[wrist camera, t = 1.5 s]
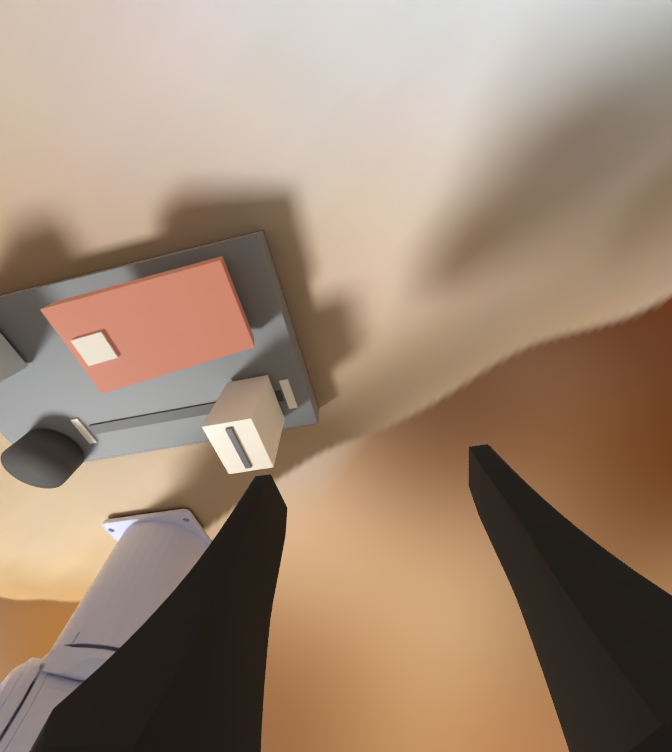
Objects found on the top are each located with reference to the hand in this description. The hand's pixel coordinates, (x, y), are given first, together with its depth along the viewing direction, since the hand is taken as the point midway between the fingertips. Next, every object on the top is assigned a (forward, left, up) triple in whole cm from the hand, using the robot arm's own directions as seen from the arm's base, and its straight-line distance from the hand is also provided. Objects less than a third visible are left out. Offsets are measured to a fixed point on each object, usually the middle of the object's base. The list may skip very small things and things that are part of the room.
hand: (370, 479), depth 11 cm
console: (+3, +13, -9) cm, 16 cm away
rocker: (+6, +8, -6) cm, 11 cm away
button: (-1, +21, -7) cm, 22 cm away
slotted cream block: (0, +6, -7) cm, 9 cm away
